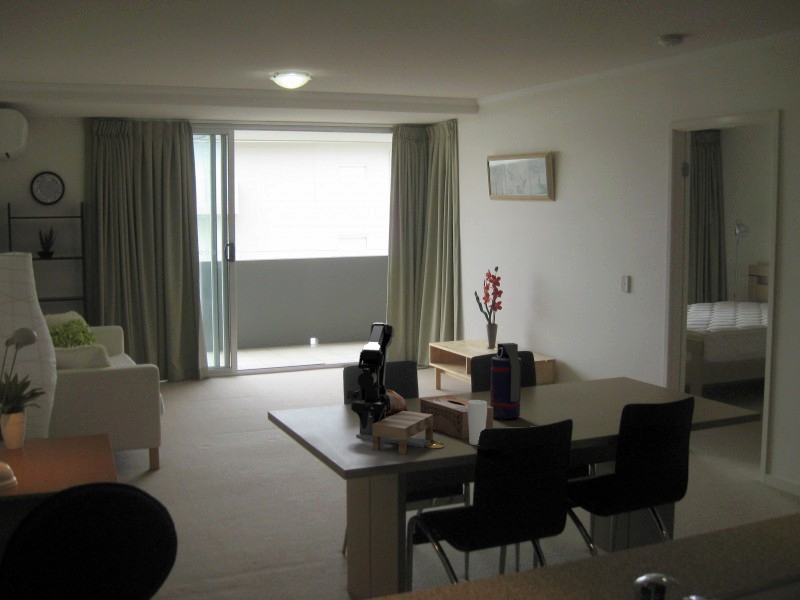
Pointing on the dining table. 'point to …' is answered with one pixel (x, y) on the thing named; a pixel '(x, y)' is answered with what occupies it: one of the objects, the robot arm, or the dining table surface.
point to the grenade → (506, 382)
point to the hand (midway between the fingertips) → (370, 426)
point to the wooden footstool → (402, 428)
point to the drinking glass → (476, 419)
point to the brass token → (435, 444)
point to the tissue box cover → (451, 414)
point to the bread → (396, 403)
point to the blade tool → (368, 434)
